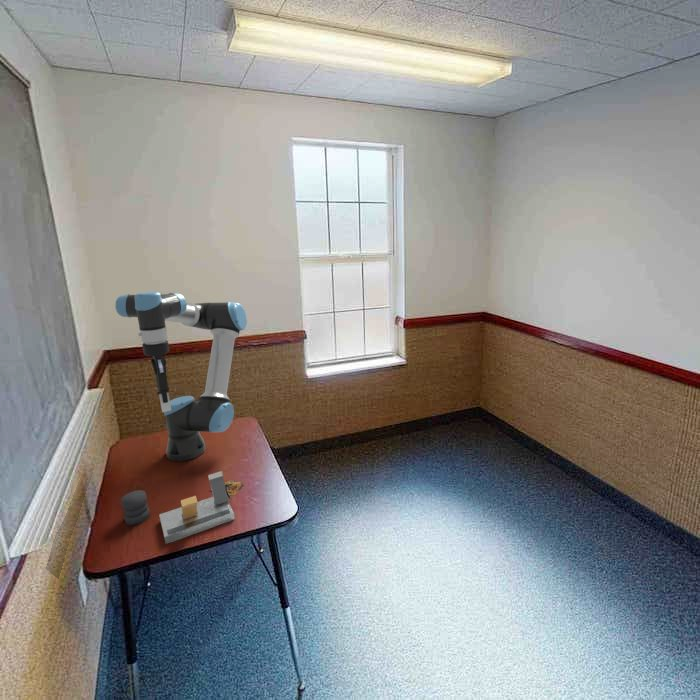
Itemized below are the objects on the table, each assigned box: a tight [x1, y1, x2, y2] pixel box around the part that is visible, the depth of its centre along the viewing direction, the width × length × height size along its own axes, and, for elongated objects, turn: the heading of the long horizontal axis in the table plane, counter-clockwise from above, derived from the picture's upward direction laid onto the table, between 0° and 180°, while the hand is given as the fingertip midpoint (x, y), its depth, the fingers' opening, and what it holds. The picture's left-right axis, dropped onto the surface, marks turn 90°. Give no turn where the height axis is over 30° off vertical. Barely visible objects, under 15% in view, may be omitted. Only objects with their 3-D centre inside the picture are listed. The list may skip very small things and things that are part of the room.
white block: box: [207, 470, 230, 506], centre depth 135 cm, size 2×4×10 cm
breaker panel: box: [158, 496, 235, 545], centre depth 130 cm, size 12×20×3 cm, turn 120°
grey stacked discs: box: [120, 490, 151, 526], centre depth 132 cm, size 7×7×8 cm
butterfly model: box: [208, 479, 245, 499], centre depth 147 cm, size 9×12×3 cm
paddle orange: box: [180, 495, 198, 519], centre depth 125 cm, size 2×4×10 cm
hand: (166, 410), depth 138 cm, fingers closed
